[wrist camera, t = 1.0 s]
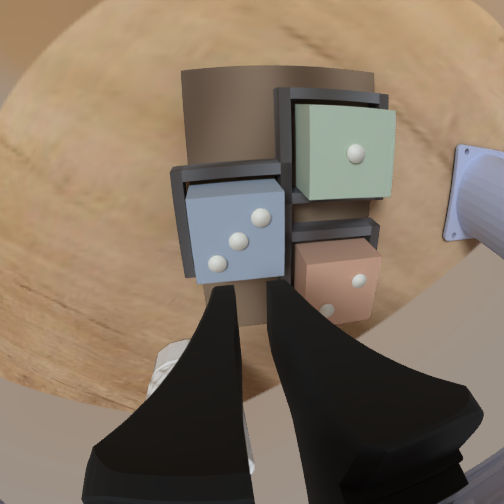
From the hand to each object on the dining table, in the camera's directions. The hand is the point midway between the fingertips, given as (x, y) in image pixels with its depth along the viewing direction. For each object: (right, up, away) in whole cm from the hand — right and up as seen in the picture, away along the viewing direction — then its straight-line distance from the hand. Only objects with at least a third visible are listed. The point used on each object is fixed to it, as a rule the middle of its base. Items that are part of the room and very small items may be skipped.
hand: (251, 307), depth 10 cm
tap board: (+2, +5, +9) cm, 10 cm away
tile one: (+5, +8, +6) cm, 10 cm away
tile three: (-1, +4, +7) cm, 8 cm away
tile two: (+5, +1, +9) cm, 10 cm away
